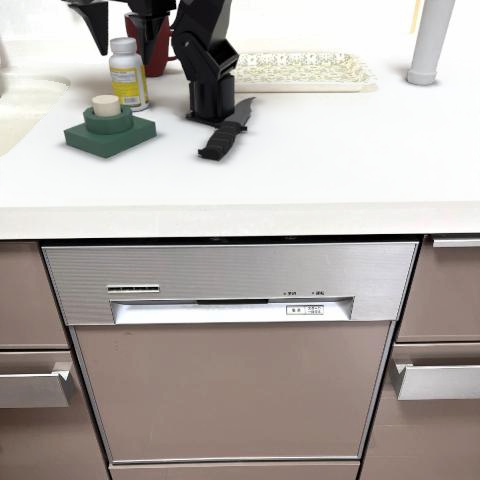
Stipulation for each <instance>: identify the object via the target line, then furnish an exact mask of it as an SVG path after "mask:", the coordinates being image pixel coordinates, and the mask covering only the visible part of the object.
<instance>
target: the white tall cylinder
mask: <svg viewBox="0 0 480 480" xmlns="http://www.w3.org/2000/svg"><path fill="white" fill-rule="evenodd" d="M455 4H456V0H424V2H423V7H422V12H421V16H420V21H419V27H418V31H417V35H416V41H415V45H414V50H413V55H412V60H411V63H410V68H409V69H408V71H407V78H406V79H407V82H408V83H410V84H412V85H418V86H429V85H432V84H433V83H434V82H435V80H436V77H437V74H438V72H437V67H438V64H439V62H440V58H441V53H442V50H443V47H444V43H445V39H446V36H447V33H448V28H449V25H450V22H451V18H452V14H453V11H454V7H455Z"/></svg>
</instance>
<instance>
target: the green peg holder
mask: <svg viewBox="0 0 480 480" xmlns="http://www.w3.org/2000/svg"><path fill="white" fill-rule="evenodd" d="M120 109H121V114H118V115H115V116H108V117H101V116H96V115H95V114H94V109H93V105H91V106H89V107H86V109H85V110H83V112H82V116H83V121H84V122H82V123H79V124H77V125H74V126H72V127H68V128H66V129H63V135H64V140H65V143H66V145H67V146H70V147H73V148H76V149H78V150H81V151H84V152H86V153H89V154H92V155H95V156H98V157H101V158H104V159H107V158H111V157H112V156H114V155H117V154H119V153H121V152H123V151H125V150H127V149H128V150H129V149H130V148H132V147H134V146H137V145H139V144H141V143H144V142H147V141H148V140H151V139H153V138H154V137H157V136H158V135H157V126H156V125H157V124H156V121H153V120H151V119H147V118H144V117H140V116H136V115H134V113H133V112H132V110H131V108H130V107H129V106H126V105H122V104H120Z"/></svg>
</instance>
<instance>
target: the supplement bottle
mask: <svg viewBox="0 0 480 480" xmlns="http://www.w3.org/2000/svg"><path fill="white" fill-rule="evenodd" d="M109 47H110V52H111V53H112V55H110V57H109V58H108V67H109V68H108V69H109V74H110V79H111V85H112V91H113V95H114V96H117V97H118V98H119V102H120V104H122V105H126V106H129V107H130V108H131V110H132V113H133V112H140V111H143V110H145V109H147V108H148V107H149V105H150V101H149V94H148V86H147V78H146V77H147V76H145V70H144V65H143V63H142V59H141V56H140V55H139V54H136V50H137V44H136V39H134V38H130V37H128V36H127V37H126V36H121V37H115V38H111V39H110V40H109Z"/></svg>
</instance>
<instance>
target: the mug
mask: <svg viewBox="0 0 480 480" xmlns="http://www.w3.org/2000/svg"><path fill="white" fill-rule="evenodd" d="M130 14H135V13H133V12H132V11H130V12H126V13H124V15H123V17H124V26H125V27H124V28H125V32H126V36H127V37H130V38H134V39H136V44H137V50H136V54H139V55H140V56H141V54H140V48H139V42H138V35H137V29H136V26H135V24H134V23H133V22H132V21H131V19H130V18H129V17H128V15H130ZM170 26H171V25H170V16H166V18H165V20H164V23H163V25H162V27H161V30H160V32H159V35H158V38H157V41H156V44H155V48H154V51H153V54H152V57H151V61H150V64H149V65H146V66H145V65H144V70H145V77H150V78H153V77H160V76H162V75H163V74H164V72H165V70H166V67H167V64H168V62H175V61H177V60H178V59H177V57H176V55H172V56H170V54H169V53H170V41H171V36H172V33H173V31H174V30H170V29H169V27H170Z"/></svg>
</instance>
